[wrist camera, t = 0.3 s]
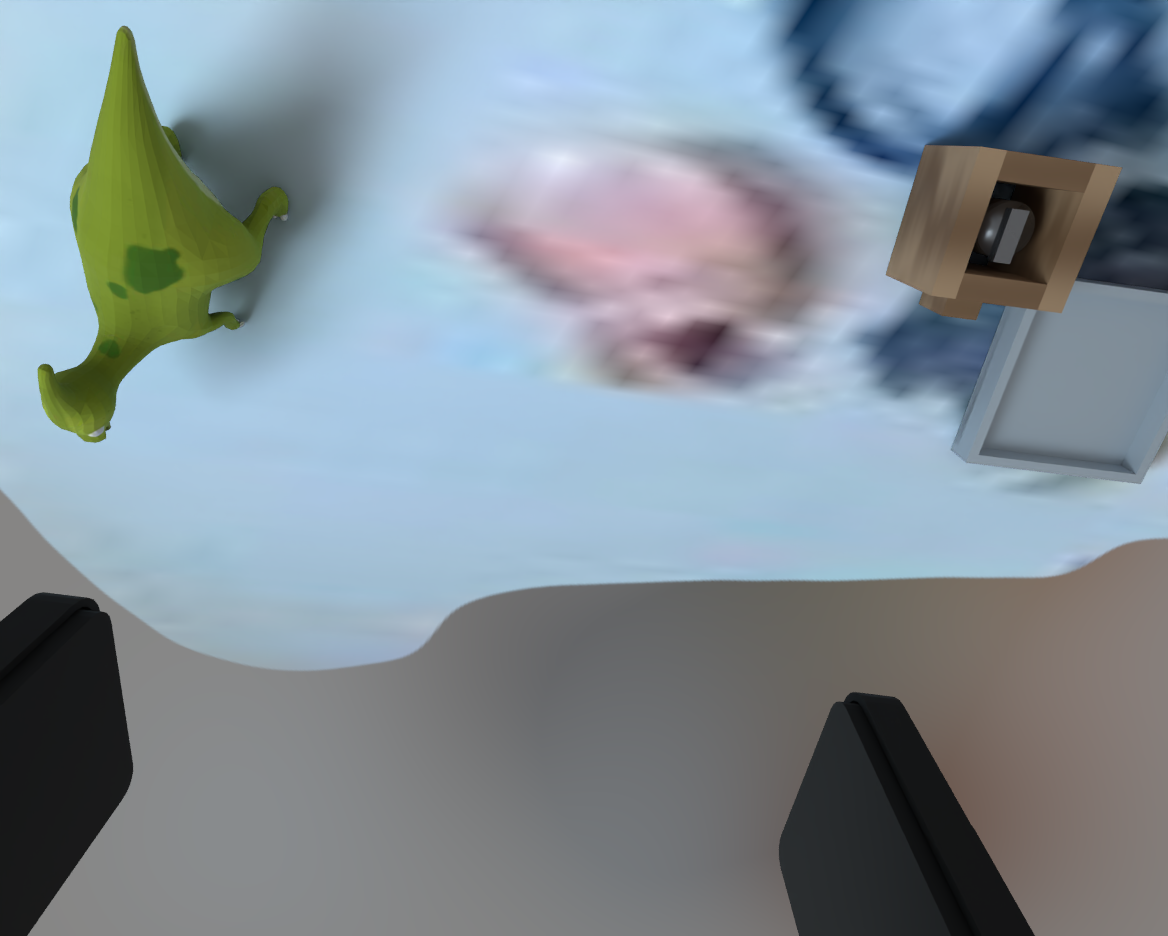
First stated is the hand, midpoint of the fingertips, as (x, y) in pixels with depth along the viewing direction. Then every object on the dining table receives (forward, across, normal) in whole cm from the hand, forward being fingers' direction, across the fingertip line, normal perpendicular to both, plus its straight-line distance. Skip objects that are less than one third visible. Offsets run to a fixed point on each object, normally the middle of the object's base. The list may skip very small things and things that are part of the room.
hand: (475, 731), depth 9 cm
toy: (+36, +20, +2) cm, 41 cm away
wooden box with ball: (+36, -22, -6) cm, 43 cm away
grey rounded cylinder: (+36, -22, -6) cm, 43 cm away
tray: (+36, -33, +1) cm, 48 cm away
